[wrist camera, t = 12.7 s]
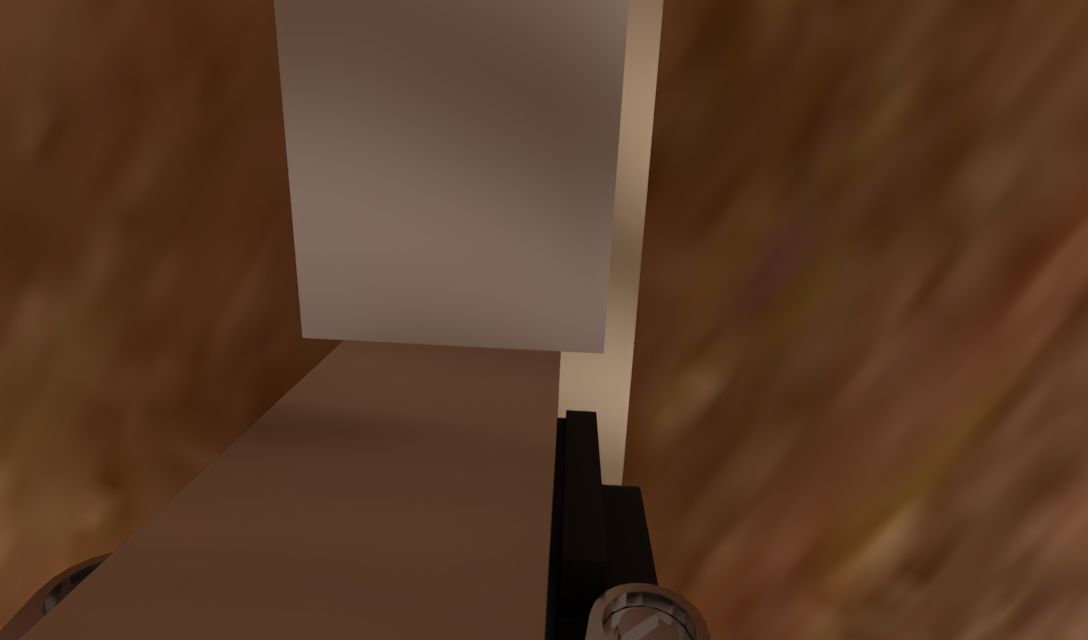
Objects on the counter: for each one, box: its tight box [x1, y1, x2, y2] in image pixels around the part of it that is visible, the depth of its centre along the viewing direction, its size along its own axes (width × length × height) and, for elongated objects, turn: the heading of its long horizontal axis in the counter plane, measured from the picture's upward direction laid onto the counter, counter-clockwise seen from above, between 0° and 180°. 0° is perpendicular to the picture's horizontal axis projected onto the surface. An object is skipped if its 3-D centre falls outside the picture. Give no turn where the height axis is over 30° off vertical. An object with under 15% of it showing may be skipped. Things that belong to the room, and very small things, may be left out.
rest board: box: [558, 0, 664, 486], centre depth 15 cm, size 15×7×1 cm, turn 178°
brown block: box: [19, 0, 629, 640], centre depth 7 cm, size 13×5×7 cm, turn 178°
